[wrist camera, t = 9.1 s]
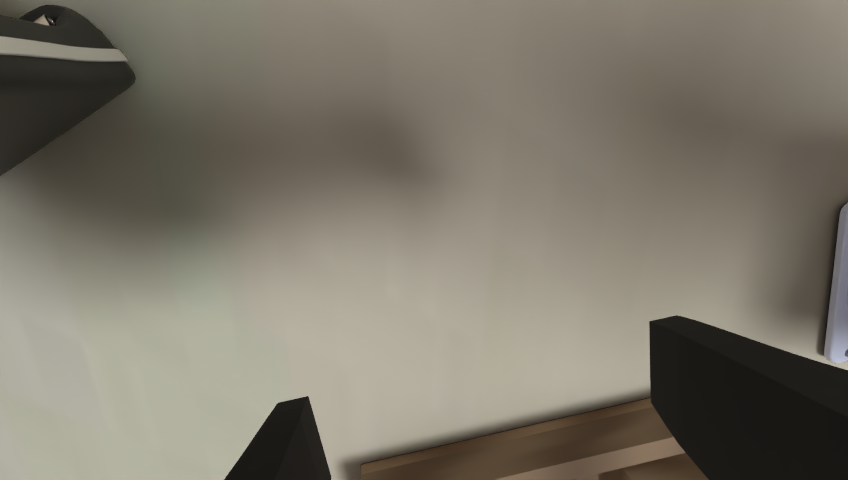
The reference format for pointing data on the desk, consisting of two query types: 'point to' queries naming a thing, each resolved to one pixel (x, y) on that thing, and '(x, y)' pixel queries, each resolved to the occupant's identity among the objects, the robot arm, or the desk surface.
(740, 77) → the desk surface
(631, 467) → the maple block
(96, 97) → the battery charger
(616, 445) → the slot rack
